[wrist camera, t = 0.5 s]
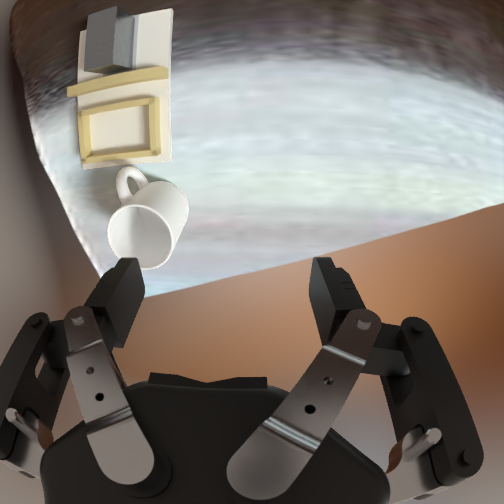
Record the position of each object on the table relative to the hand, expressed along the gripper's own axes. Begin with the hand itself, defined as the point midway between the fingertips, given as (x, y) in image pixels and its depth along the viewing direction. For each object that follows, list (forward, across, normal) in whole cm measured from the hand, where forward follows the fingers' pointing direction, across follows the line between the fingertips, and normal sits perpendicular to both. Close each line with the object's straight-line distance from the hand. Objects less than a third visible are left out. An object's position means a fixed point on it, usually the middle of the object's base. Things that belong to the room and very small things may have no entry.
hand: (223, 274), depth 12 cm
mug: (+26, +12, +5) cm, 29 cm away
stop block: (+26, +16, -18) cm, 35 cm away
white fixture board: (+27, +16, -11) cm, 33 cm away
